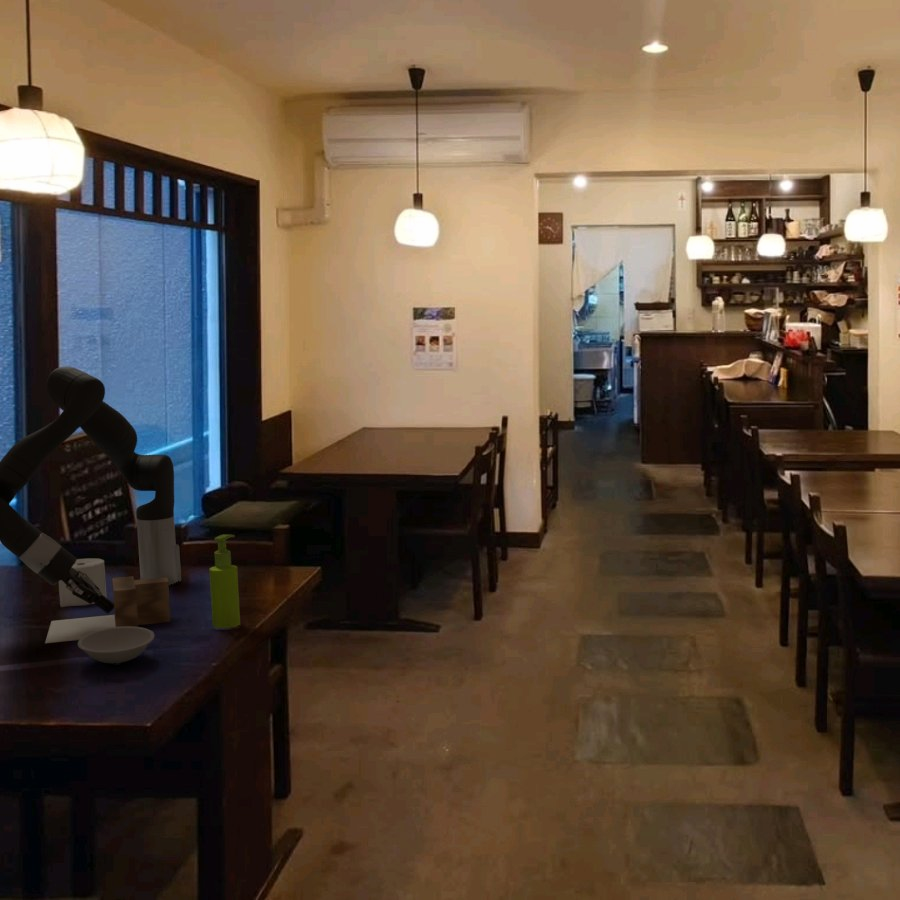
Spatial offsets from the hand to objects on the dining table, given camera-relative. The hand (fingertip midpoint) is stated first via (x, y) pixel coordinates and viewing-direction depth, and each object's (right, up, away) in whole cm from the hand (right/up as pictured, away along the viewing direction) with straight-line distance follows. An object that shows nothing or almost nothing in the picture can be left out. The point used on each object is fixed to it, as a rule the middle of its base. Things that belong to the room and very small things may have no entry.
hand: (111, 609), depth 234 cm
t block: (+6, -3, +3) cm, 7 cm away
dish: (+8, -7, -23) cm, 25 cm away
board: (+2, -5, +2) cm, 5 cm away
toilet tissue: (-15, -3, +25) cm, 29 cm away
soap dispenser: (+25, -4, +1) cm, 25 cm away
